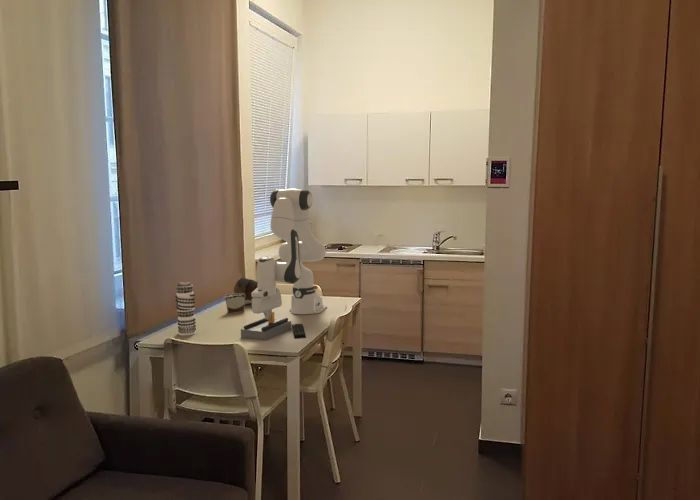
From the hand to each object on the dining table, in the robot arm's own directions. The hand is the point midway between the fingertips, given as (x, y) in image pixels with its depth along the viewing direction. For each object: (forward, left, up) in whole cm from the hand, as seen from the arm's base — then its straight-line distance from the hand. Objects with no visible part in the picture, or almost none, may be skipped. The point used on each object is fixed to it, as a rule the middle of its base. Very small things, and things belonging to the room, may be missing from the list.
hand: (267, 319), depth 292 cm
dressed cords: (+1, 0, -3) cm, 3 cm away
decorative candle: (+15, -37, -7) cm, 41 cm away
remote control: (-7, +13, -7) cm, 16 cm away
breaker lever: (-3, 0, -2) cm, 4 cm away
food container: (-31, -44, -7) cm, 54 cm away
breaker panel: (+1, 0, -7) cm, 7 cm away
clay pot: (-53, -44, -7) cm, 69 cm away
